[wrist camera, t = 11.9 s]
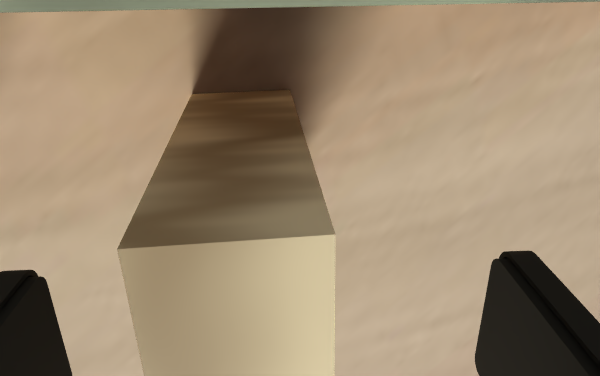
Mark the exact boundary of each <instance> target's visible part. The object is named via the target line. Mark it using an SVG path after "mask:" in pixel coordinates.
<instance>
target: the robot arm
mask: <svg viewBox="0 0 600 376" xmlns="http://www.w3.org/2000/svg"><path fill="white" fill-rule="evenodd" d="M475 364H476V368H477V372H478V374H479V376H600V323H599V322H598V321H597V320H596V319H595V318H594V316H593V315H592V314H591V313H590V312H589V311H588V310H587V309H586V308H585V307H584V306H583V305H582V304H581V302H580V301H579V300H578V299H577V298H576V297H575V296H574V295H573V294H572V293H571V292H570V291H569V289H568V288H567V287H566V286H565V285H564V284H563V283H562V282H561V281H560V280H559V279H558V278H557V277H556V275H555V274H554V273H553V272H552V271H551V270H550V269H549V268H548V267H547V266H546V265H545V264H544V263H543V261H542V260H541V259H540V258H539V257H538V256H537V255H536V254H535V253H534V252H532V251H509V252H503V253H502V254H501V255H500V257H499V259H494V260H493V262H492V265H491V270H490V275H489V281H488V286H487V292H486V297H485V303H484V308H483V314H482V319H481V325H480V330H479V336H478V341H477V347H476V353H475ZM0 376H72V372H71V368H70V364H69V361H68V357H67V354H66V350H65V346H64V343H63V339H62V335H61V332H60V328H59V325H58V321H57V317H56V314H55V310H54V307H53V303H52V299H51V296H50V292H49V288H48V285H47V282H46V280H45V278H44V277H38V275H37V273H36V272H35V271H33V270H15V271H2V272H0Z"/></svg>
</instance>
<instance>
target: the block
mask: <svg viewBox="0 0 600 376" xmlns="http://www.w3.org/2000/svg"><path fill="white" fill-rule="evenodd" d="M117 251H118V255H119V260H120V265H121V269H122V274H123V279H124V283H125V288H126V293H127V297H128V302H129V307H130V312H131V316H132V321H133V326H134V330H135V335H136V340H137V344H138V349H139V354H140V358H141V363H142V368H143V373H144V376H334V356H335V232H334V229H333V226H332V222H331V219H330V216H329V213H328V210H327V206H326V203H325V200H324V197H323V194H322V191H321V187H320V184H319V181H318V178H317V175H316V171H315V168H314V165H313V162H312V159H311V156H310V152H309V149H308V146H307V143H306V140H305V136H304V133H303V130H302V127H301V124H300V121H299V117H298V114H297V111H296V108H295V105H294V101H293V98H292V95H291V92H290V90H270V91H248V92H226V93H203V94H192V95H191V97H190V99H189V101H188V103H187V105H186V107H185V110H184V112H183V114H182V116H181V118H180V120H179V122H178V124H177V126H176V128H175V130H174V132H173V134H172V137H171V139H170V141H169V143H168V145H167V147H166V149H165V151H164V153H163V155H162V157H161V159H160V161H159V164H158V166H157V168H156V170H155V172H154V174H153V176H152V178H151V180H150V182H149V184H148V186H147V188H146V191H145V193H144V195H143V197H142V199H141V201H140V203H139V205H138V207H137V209H136V211H135V213H134V215H133V218H132V220H131V222H130V224H129V226H128V228H127V230H126V232H125V234H124V236H123V238H122V240H121V242H120V245H119V247H118V249H117Z"/></svg>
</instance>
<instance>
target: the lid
mask: <svg viewBox="0 0 600 376" xmlns="http://www.w3.org/2000/svg"><path fill="white" fill-rule="evenodd" d="M596 1H600V0H0V13H5V12H59V11H113V10H166V9H220V8H274V7H327V6H381V5H435V4H488V3H542V2H596Z"/></svg>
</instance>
